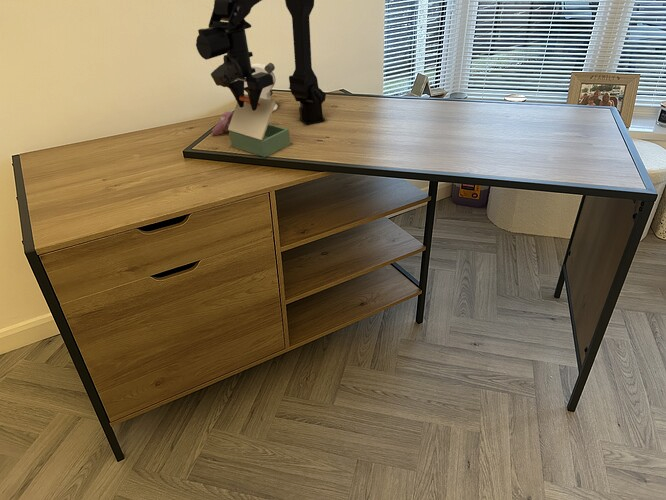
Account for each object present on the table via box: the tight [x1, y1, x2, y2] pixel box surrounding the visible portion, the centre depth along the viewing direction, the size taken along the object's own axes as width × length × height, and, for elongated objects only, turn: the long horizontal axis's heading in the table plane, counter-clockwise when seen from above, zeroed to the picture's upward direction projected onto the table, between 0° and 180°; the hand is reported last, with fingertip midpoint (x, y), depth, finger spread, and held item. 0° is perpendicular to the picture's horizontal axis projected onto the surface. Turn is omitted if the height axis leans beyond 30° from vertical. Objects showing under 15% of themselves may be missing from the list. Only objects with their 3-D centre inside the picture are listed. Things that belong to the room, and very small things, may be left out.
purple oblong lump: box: [211, 109, 234, 136], centre depth 152 cm, size 10×5×7 cm, turn 168°
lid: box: [227, 93, 277, 140], centre depth 134 cm, size 11×14×4 cm
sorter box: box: [228, 123, 291, 158], centre depth 141 cm, size 10×14×5 cm
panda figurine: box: [244, 62, 278, 112], centre depth 164 cm, size 12×11×15 cm
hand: (248, 108), depth 134 cm, fingers closed on lid, 5 cm apart
